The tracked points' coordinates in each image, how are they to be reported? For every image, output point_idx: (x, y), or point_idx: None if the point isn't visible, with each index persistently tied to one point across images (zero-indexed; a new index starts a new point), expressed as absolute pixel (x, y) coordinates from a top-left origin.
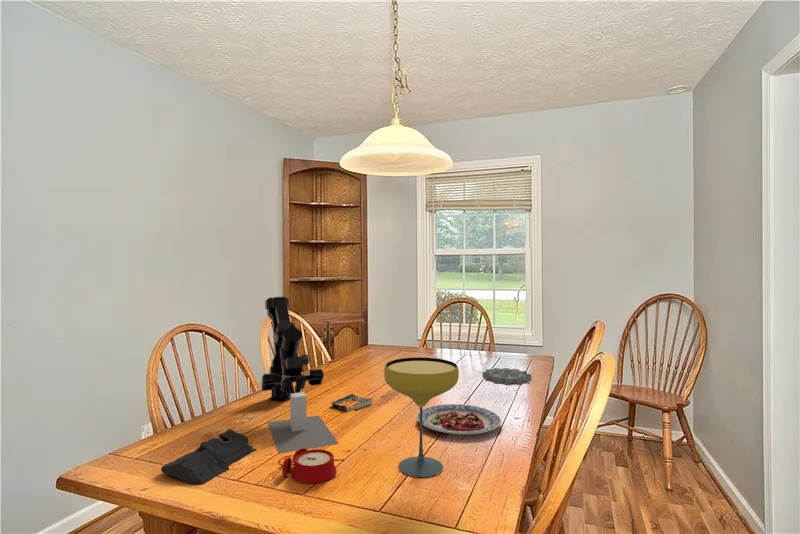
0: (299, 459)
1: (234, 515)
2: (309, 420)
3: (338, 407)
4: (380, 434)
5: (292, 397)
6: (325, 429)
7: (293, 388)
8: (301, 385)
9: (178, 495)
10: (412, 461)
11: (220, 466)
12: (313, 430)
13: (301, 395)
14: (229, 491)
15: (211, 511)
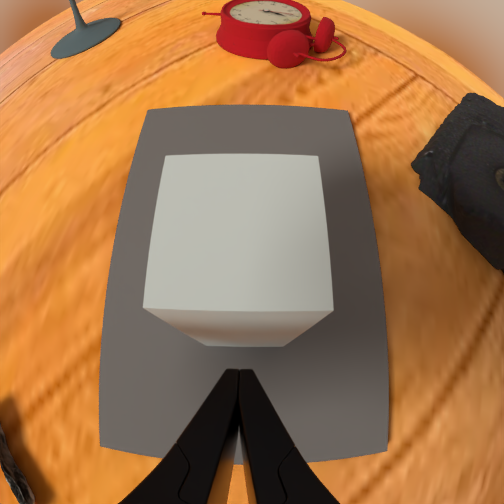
0: (298, 17)
1: (388, 21)
2: (160, 400)
3: (10, 470)
4: (18, 161)
5: (318, 169)
6: (127, 239)
7: (256, 492)
8: (121, 501)
9: (482, 87)
10: (88, 33)
11: (467, 117)
12: None
13: (211, 179)
14: (416, 56)
15: (420, 38)
